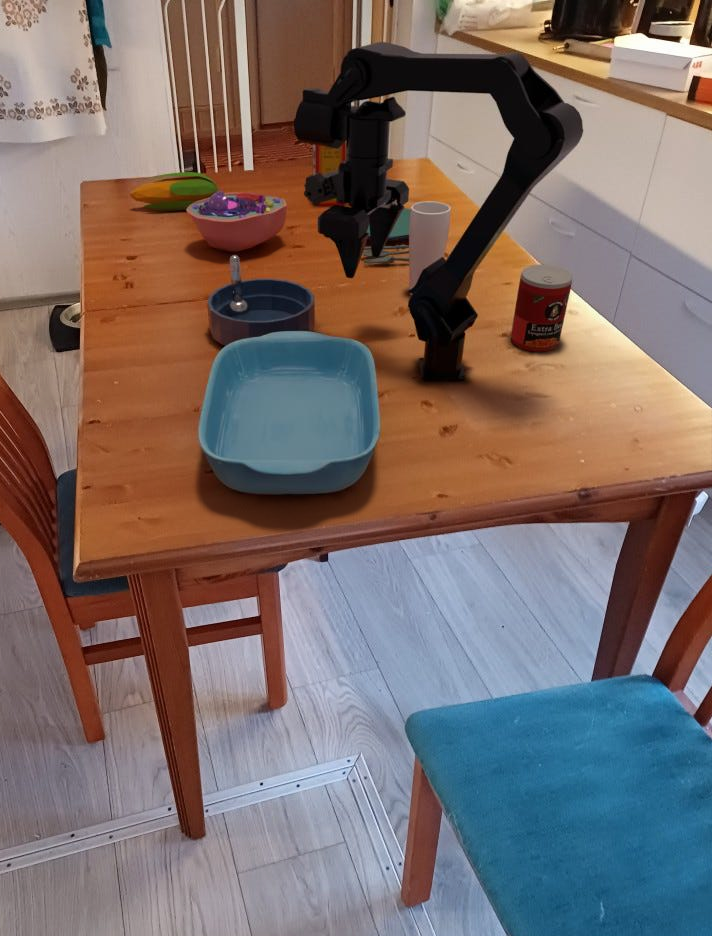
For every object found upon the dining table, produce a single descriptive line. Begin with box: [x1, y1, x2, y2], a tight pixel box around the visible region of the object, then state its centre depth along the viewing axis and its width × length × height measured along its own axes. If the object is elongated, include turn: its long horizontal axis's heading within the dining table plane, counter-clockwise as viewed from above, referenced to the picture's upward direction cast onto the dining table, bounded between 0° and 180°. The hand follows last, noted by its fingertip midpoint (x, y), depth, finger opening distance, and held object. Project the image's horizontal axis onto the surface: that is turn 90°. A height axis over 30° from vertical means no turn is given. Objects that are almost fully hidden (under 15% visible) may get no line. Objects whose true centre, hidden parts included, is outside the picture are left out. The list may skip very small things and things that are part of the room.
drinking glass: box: [408, 200, 452, 296], centre depth 135 cm, size 7×7×15 cm
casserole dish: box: [197, 331, 381, 495], centre depth 102 cm, size 37×22×7 cm, turn 179°
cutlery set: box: [362, 207, 411, 265], centre depth 160 cm, size 20×30×2 cm, turn 3°
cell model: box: [186, 190, 288, 253], centre depth 155 cm, size 17×20×11 cm
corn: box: [129, 171, 219, 212], centre depth 176 cm, size 7×8×20 cm
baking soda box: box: [311, 141, 346, 207], centre depth 177 cm, size 10×6×16 cm
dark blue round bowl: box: [206, 278, 316, 347], centre depth 127 cm, size 17×17×6 cm
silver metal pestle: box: [227, 254, 250, 320], centre depth 126 cm, size 4×4×11 cm
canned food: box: [510, 264, 574, 353], centre depth 121 cm, size 8×8×11 cm
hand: (363, 266), depth 115 cm, fingers open, 9 cm apart
